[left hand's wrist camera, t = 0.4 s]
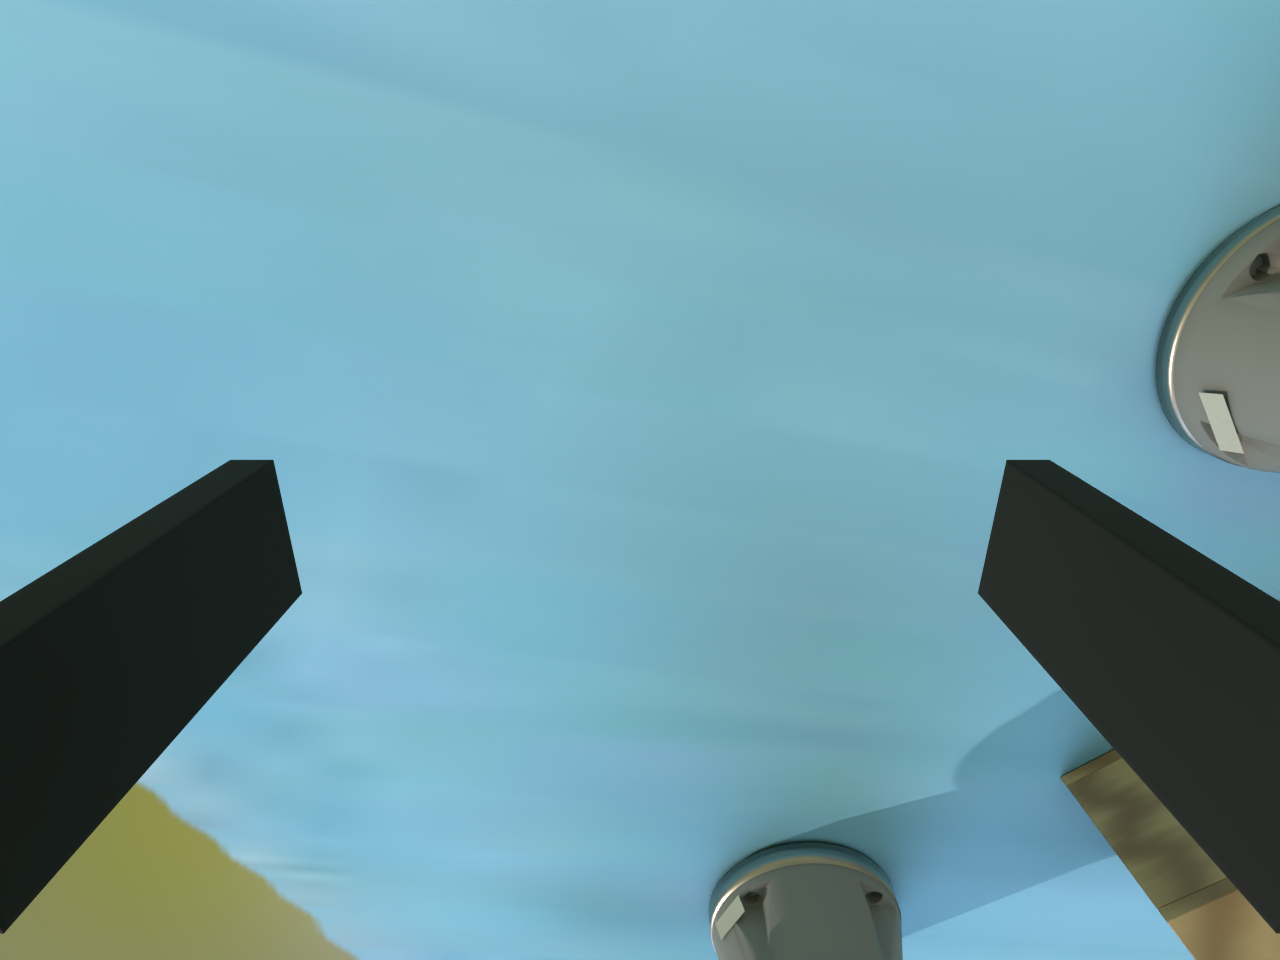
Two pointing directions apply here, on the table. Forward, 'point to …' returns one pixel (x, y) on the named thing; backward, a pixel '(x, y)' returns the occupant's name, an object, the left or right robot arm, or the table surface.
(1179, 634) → the left robot arm
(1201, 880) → the tan cardboard box
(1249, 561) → the table surface
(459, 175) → the table surface
